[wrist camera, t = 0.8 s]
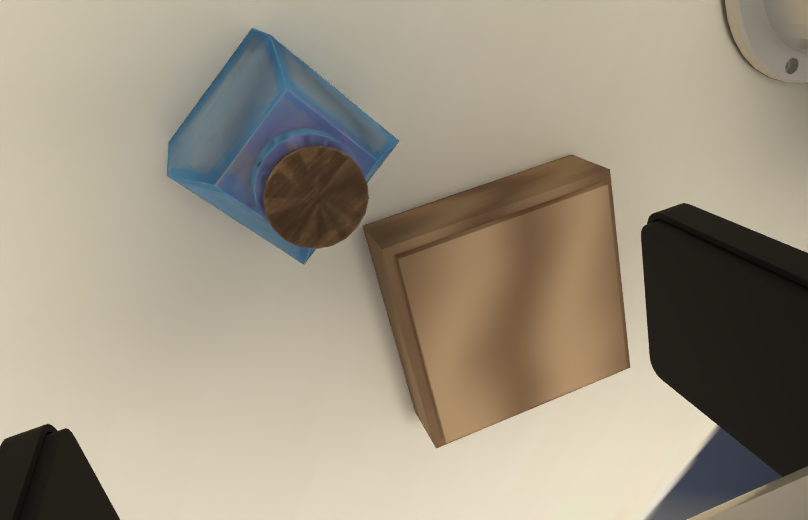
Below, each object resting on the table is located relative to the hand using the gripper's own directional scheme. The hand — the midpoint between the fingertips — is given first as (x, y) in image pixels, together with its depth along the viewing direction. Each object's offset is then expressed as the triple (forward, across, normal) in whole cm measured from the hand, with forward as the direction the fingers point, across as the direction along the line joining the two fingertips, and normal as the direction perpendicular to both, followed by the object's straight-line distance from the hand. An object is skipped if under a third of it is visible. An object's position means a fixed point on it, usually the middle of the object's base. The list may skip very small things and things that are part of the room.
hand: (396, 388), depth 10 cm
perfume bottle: (+23, 0, 0) cm, 23 cm away
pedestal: (+22, -10, +12) cm, 27 cm away
